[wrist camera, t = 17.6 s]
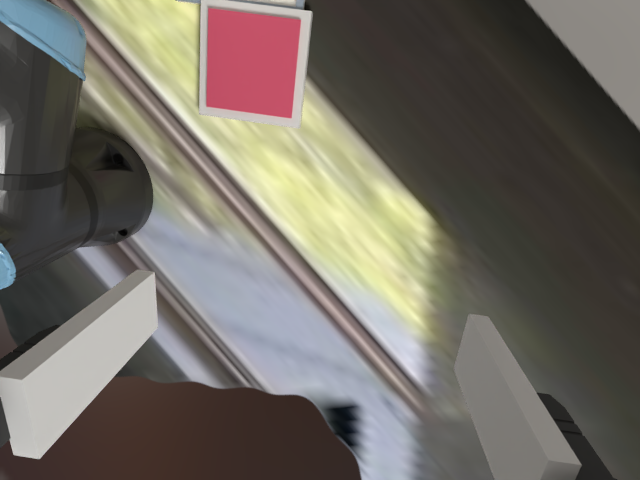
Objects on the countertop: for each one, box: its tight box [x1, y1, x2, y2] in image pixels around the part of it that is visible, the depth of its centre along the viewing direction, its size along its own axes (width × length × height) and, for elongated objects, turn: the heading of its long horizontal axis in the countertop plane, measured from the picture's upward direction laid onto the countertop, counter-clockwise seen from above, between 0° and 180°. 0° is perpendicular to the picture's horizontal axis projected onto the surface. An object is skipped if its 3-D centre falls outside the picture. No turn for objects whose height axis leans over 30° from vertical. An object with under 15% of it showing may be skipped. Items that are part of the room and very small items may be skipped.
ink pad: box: [199, 0, 313, 128], centre depth 42 cm, size 12×12×2 cm
